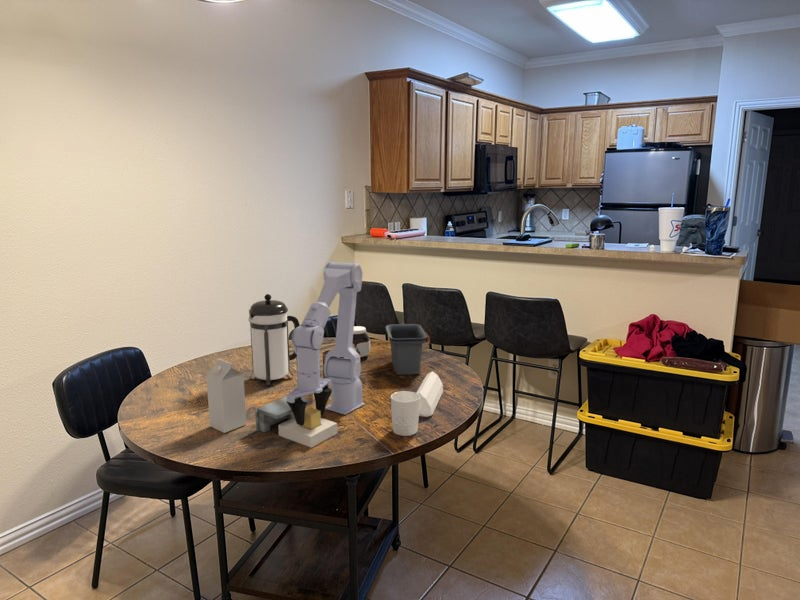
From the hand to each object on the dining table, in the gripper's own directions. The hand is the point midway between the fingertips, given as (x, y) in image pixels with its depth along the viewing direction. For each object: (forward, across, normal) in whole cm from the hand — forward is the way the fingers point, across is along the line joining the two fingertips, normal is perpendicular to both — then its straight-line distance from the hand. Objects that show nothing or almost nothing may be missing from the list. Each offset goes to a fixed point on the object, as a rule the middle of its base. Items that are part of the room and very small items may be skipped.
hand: (310, 419), depth 144 cm
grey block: (+5, 0, +10) cm, 11 cm away
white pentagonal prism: (+5, +37, -13) cm, 39 cm away
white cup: (+5, +17, -19) cm, 26 cm away
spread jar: (+5, +58, +33) cm, 67 cm away
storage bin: (+5, +61, +10) cm, 62 cm away
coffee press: (+5, +25, +42) cm, 49 cm away
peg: (+5, 0, 0) cm, 5 cm away
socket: (+5, 0, +1) cm, 5 cm away
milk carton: (+5, -9, +23) cm, 25 cm away
